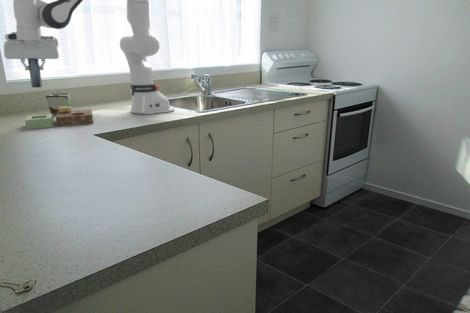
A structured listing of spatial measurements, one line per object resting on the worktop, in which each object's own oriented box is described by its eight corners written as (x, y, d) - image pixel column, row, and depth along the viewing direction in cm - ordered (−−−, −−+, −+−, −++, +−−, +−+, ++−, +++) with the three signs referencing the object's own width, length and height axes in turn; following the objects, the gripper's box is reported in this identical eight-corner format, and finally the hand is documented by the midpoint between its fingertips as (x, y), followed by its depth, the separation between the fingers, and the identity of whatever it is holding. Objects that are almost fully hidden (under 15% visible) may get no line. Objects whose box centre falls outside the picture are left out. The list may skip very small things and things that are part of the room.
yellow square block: (72, 116, 179) (70, 105, 177) (72, 118, 175) (70, 107, 173) (60, 117, 177) (59, 106, 176) (60, 119, 173) (58, 108, 171)
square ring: (53, 122, 172) (52, 113, 171) (52, 127, 163) (50, 118, 162) (29, 124, 169) (27, 115, 167) (26, 129, 160) (24, 120, 159)
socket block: (92, 117, 183) (91, 108, 182) (93, 123, 170) (92, 114, 169) (58, 119, 178) (57, 111, 177) (57, 126, 165) (55, 117, 164)
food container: (76, 111, 196) (74, 92, 193) (70, 114, 190) (68, 94, 187) (54, 111, 197) (51, 92, 194) (48, 113, 191) (44, 94, 188)
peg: (42, 86, 163) (38, 57, 160) (41, 87, 160) (37, 58, 156) (32, 86, 162) (28, 57, 158) (31, 87, 158) (27, 58, 155)
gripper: (57, 36, 161) (61, 69, 165) (3, 35, 154) (8, 69, 158) (56, 36, 156) (61, 70, 160) (0, 35, 148) (6, 70, 152)
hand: (34, 70), depth 159 cm, fingers closed on peg, 4 cm apart
